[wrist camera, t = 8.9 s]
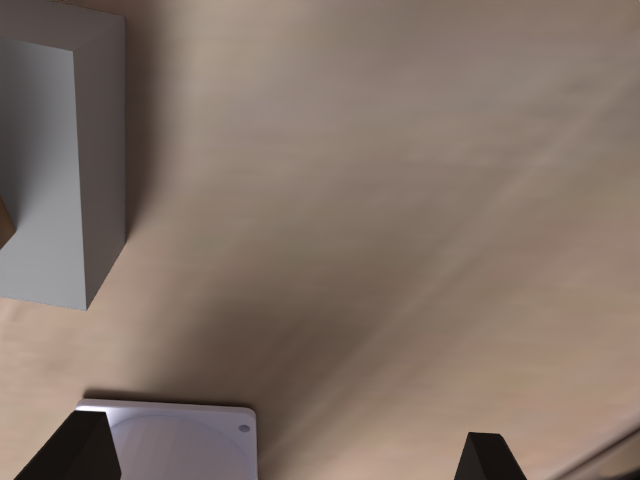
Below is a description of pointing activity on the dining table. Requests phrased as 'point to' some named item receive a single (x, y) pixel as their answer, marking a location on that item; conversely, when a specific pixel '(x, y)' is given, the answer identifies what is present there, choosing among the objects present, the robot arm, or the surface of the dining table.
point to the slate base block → (61, 149)
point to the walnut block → (5, 225)
